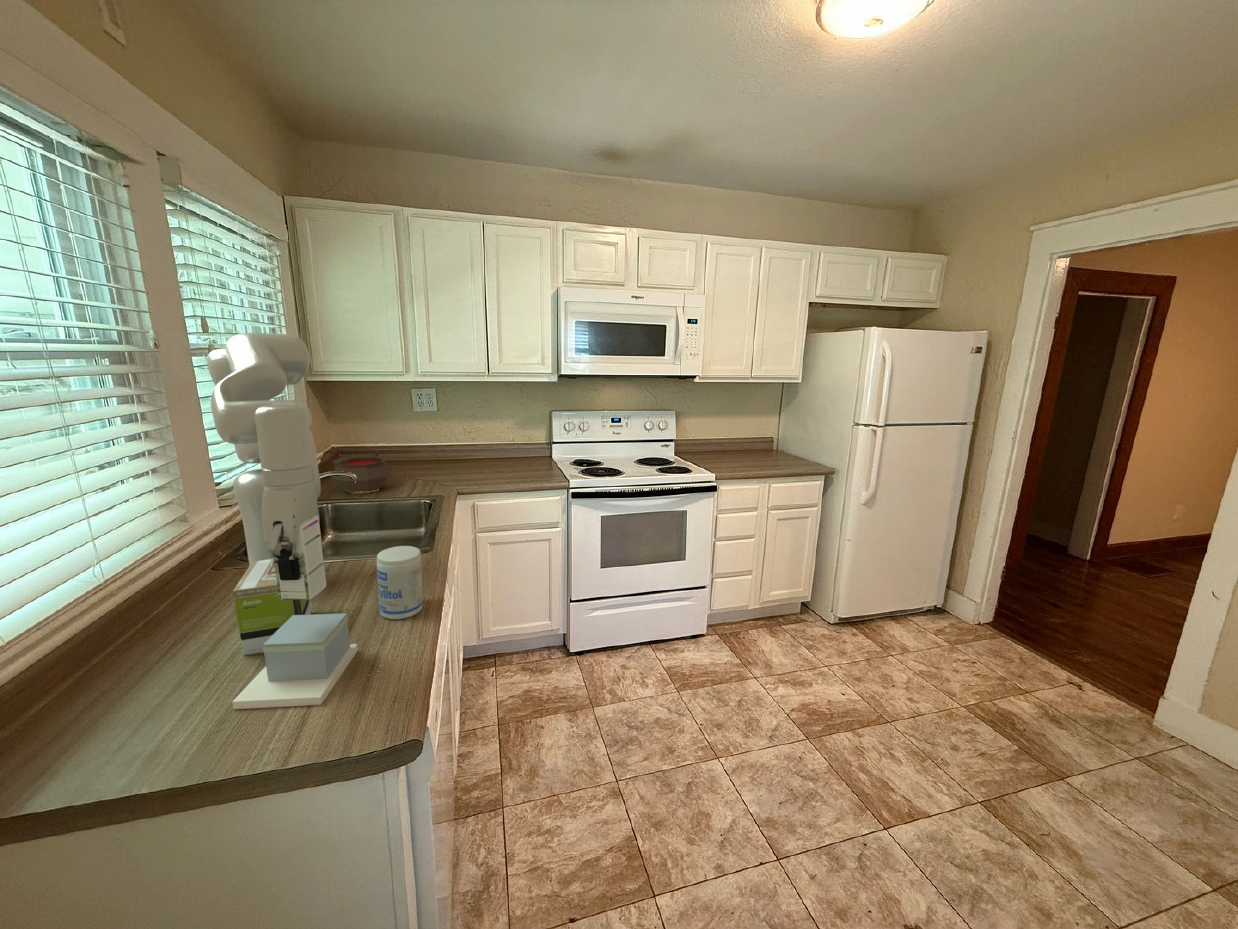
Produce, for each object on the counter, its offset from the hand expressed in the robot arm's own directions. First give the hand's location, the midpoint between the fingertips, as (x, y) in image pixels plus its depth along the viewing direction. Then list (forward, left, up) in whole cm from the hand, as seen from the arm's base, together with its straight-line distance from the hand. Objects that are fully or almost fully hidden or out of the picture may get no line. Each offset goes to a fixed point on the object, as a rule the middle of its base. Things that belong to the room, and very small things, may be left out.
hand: (300, 570), depth 89 cm
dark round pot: (-129, -38, -21) cm, 136 cm away
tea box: (-14, -13, -21) cm, 28 cm away
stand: (+2, -1, -21) cm, 21 cm away
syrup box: (0, 0, -5) cm, 5 cm away
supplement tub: (-22, +10, -21) cm, 32 cm away
